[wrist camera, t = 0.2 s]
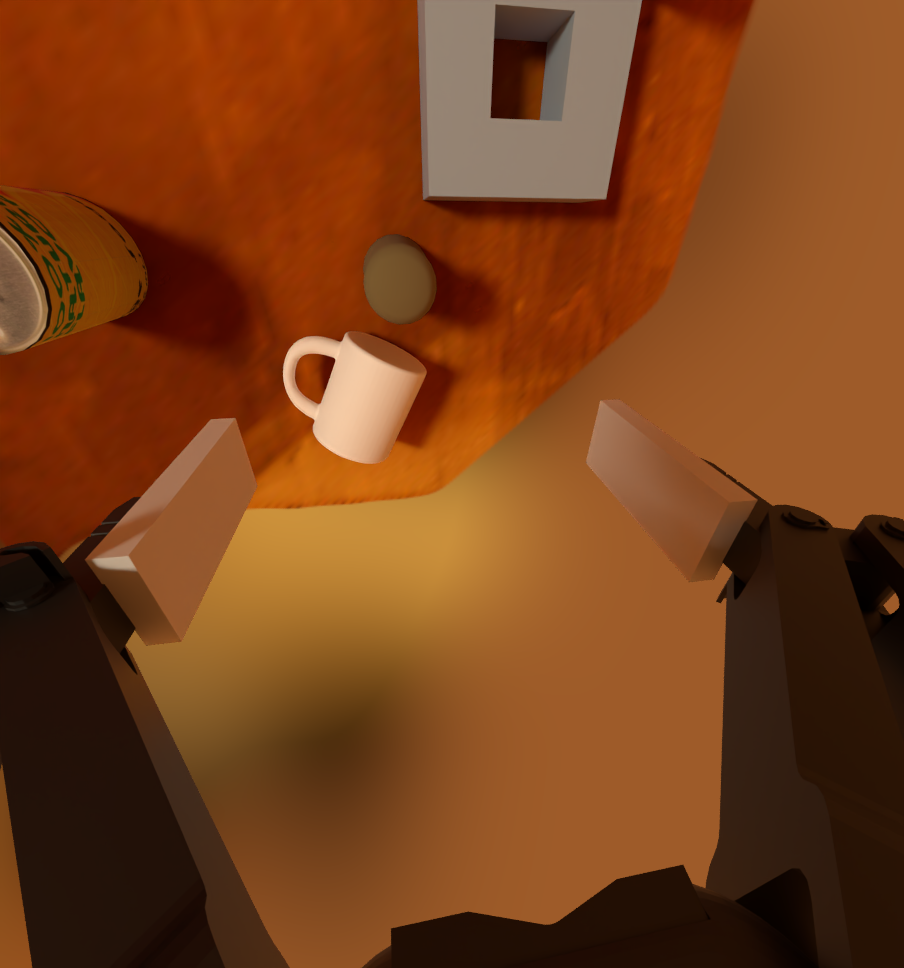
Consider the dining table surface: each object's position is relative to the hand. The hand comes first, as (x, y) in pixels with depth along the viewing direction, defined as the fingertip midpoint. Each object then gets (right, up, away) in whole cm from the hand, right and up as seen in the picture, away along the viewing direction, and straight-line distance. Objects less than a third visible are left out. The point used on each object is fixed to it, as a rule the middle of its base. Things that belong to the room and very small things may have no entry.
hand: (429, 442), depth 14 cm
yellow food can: (-29, +17, +17) cm, 38 cm away
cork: (-4, +18, +21) cm, 28 cm away
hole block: (+5, +29, +15) cm, 33 cm away
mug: (-10, +10, +26) cm, 29 cm away
